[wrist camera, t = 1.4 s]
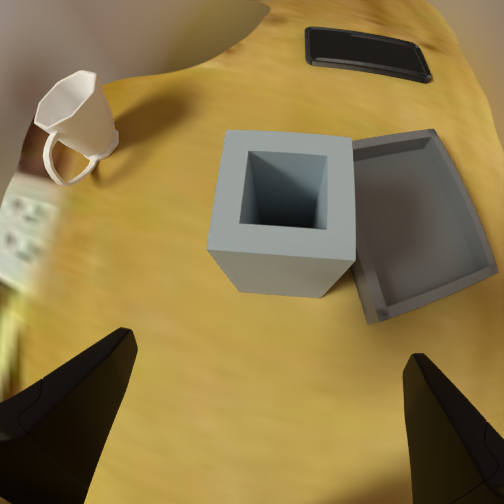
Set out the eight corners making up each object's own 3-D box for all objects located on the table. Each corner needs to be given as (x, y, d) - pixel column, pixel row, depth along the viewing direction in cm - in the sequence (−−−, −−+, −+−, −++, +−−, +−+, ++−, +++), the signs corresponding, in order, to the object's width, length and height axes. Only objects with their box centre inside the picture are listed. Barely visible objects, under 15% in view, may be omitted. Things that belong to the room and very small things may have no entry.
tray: (480, 279, 22) (498, 272, 19) (367, 324, 22) (379, 322, 19) (423, 145, 26) (433, 128, 23) (313, 166, 26) (316, 147, 23)
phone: (433, 81, 27) (305, 60, 29) (430, 87, 28) (305, 67, 30) (417, 43, 29) (304, 25, 31) (415, 49, 30) (304, 31, 32)
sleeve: (320, 298, 23) (355, 260, 12) (239, 291, 23) (206, 249, 13) (324, 203, 25) (349, 113, 14) (249, 198, 25) (230, 106, 15)
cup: (140, 116, 29) (110, 63, 21) (108, 202, 26) (60, 157, 19) (89, 120, 30) (55, 75, 22) (56, 199, 27) (8, 162, 20)
